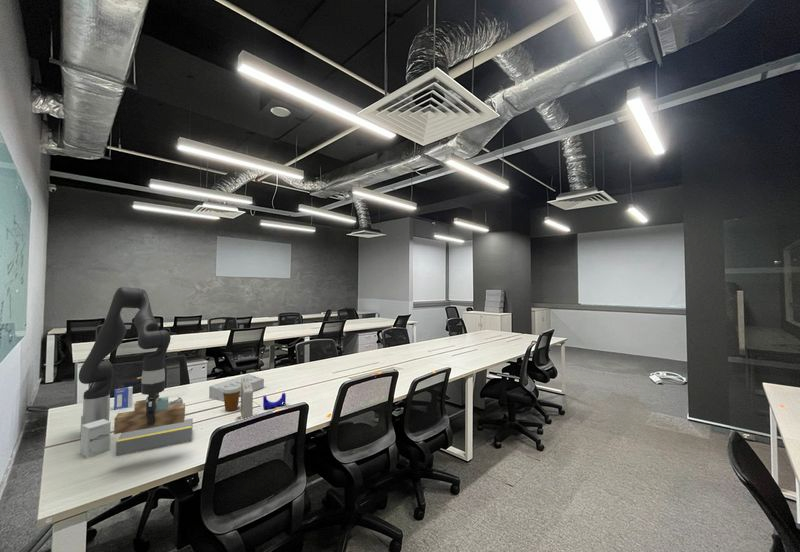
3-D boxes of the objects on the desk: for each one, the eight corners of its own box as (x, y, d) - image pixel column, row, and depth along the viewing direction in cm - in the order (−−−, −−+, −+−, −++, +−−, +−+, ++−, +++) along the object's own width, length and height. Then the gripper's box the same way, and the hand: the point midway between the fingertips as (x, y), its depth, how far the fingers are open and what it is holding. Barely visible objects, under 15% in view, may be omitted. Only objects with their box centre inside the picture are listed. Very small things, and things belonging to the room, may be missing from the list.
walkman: (114, 411, 178) (114, 389, 178) (114, 410, 180) (114, 388, 180) (132, 407, 184) (133, 386, 184) (132, 406, 186) (132, 385, 186)
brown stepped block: (113, 434, 121) (114, 418, 121) (117, 428, 126) (118, 413, 126) (183, 422, 132) (184, 407, 132) (184, 417, 137) (185, 403, 137)
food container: (167, 426, 159) (167, 406, 160) (157, 425, 161) (157, 405, 161) (188, 416, 172) (188, 397, 172) (178, 415, 173) (179, 396, 173)
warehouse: (225, 401, 195) (225, 389, 195) (209, 398, 200) (209, 386, 200) (263, 387, 223) (263, 376, 223) (248, 384, 228) (248, 374, 228)
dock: (115, 457, 131) (116, 441, 131) (122, 444, 141) (122, 430, 141) (191, 441, 144) (191, 427, 144) (192, 430, 154) (192, 417, 155)
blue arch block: (263, 409, 183) (264, 398, 183) (263, 406, 187) (263, 396, 187) (285, 405, 188) (286, 395, 188) (284, 403, 192) (284, 392, 192)
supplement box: (86, 460, 128) (87, 428, 129) (79, 455, 132) (80, 424, 132) (110, 451, 135) (111, 421, 135) (102, 447, 139) (103, 418, 139)
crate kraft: (134, 414, 125) (134, 404, 125) (136, 411, 128) (136, 401, 128) (147, 412, 127) (147, 402, 127) (148, 409, 130) (149, 399, 130)
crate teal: (154, 411, 128) (155, 401, 128) (156, 408, 131) (156, 398, 131) (167, 409, 130) (167, 399, 130) (168, 406, 133) (168, 396, 133)
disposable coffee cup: (239, 410, 180) (240, 389, 180) (220, 412, 176) (221, 391, 177) (241, 404, 189) (241, 384, 189) (223, 406, 185) (223, 386, 186)
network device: (257, 430, 155) (257, 389, 155) (237, 434, 151) (237, 392, 151) (252, 412, 177) (253, 376, 178) (234, 415, 173) (235, 378, 173)
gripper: (144, 377, 134) (143, 417, 133) (138, 386, 121) (136, 431, 121) (166, 374, 138) (165, 414, 137) (162, 383, 125) (161, 427, 125)
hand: (152, 422), depth 129 cm, fingers closed on brown stepped block, 5 cm apart
